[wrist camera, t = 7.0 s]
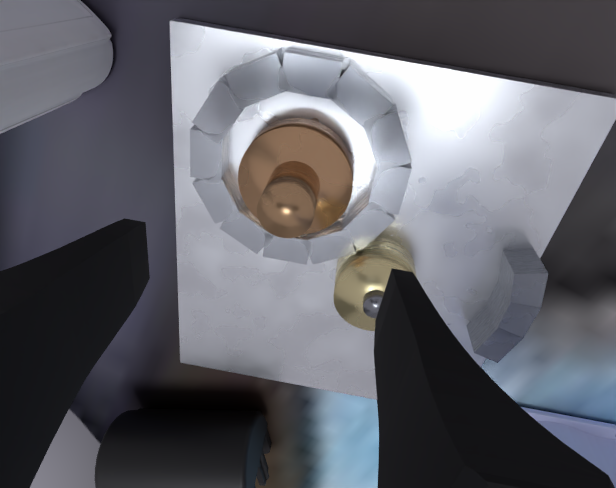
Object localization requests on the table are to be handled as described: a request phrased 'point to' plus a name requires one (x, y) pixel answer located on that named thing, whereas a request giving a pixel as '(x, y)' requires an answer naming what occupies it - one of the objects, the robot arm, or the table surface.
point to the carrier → (366, 200)
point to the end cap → (184, 449)
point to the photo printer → (48, 56)
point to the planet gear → (296, 177)
